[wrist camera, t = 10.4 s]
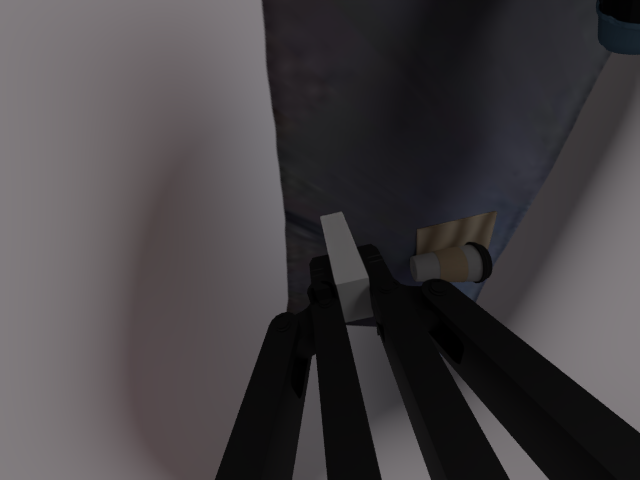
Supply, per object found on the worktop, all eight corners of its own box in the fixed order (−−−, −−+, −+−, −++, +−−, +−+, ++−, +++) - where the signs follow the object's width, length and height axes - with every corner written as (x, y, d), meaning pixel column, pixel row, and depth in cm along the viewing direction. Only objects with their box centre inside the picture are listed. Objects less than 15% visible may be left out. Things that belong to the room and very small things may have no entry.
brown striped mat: (495, 211, 52) (497, 212, 52) (482, 264, 61) (483, 265, 60) (417, 229, 53) (418, 230, 52) (415, 279, 62) (416, 280, 61)
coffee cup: (416, 296, 54) (485, 290, 52) (421, 273, 48) (500, 265, 46) (406, 264, 61) (466, 257, 59) (409, 240, 54) (478, 232, 52)
